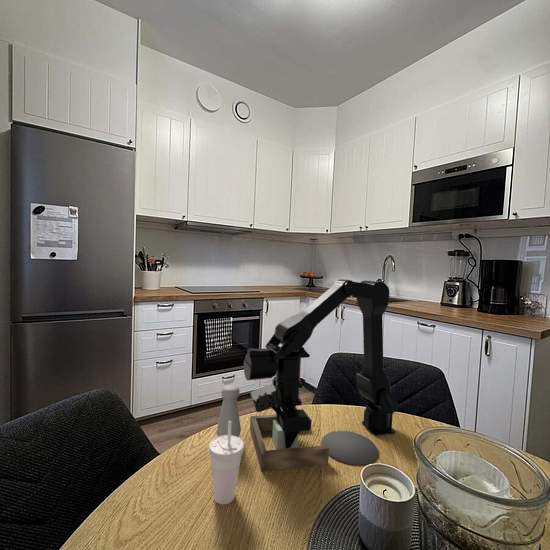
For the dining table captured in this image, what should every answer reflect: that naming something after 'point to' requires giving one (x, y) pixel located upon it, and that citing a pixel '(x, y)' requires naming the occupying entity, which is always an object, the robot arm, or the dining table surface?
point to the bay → (283, 456)
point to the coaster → (350, 447)
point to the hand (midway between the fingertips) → (284, 441)
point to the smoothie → (225, 465)
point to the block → (281, 437)
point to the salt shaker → (229, 412)
